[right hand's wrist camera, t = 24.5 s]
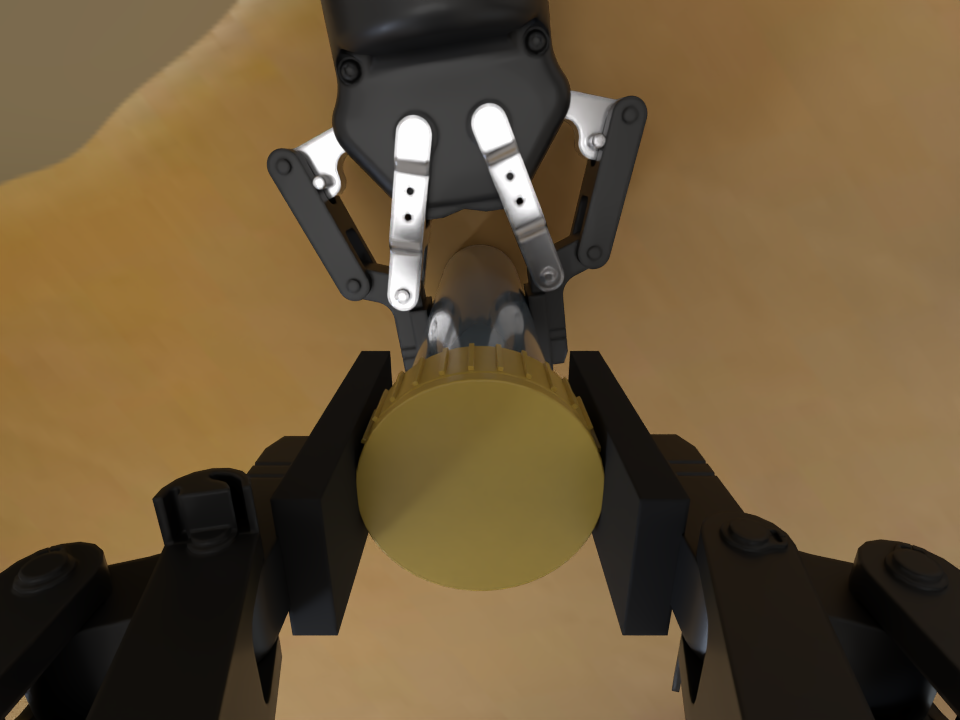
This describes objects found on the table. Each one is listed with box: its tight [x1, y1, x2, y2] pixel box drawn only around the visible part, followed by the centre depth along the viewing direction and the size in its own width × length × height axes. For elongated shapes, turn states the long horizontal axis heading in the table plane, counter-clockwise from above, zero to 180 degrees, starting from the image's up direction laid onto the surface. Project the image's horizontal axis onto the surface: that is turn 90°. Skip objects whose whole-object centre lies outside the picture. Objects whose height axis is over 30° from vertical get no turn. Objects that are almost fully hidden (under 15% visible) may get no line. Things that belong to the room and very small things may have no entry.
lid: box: [356, 343, 605, 591], centre depth 11 cm, size 5×5×2 cm
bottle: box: [412, 245, 546, 367], centre depth 19 cm, size 4×4×18 cm
